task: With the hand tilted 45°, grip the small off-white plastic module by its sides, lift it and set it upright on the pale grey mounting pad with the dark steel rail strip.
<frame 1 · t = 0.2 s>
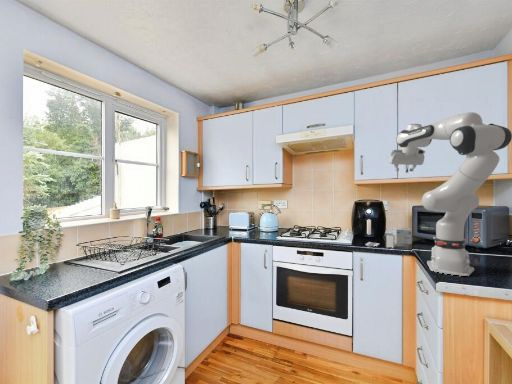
hand: (403, 171, 161), 51 cm above the worktop, tool tilted 20°, fingers open, 8 cm apart
light bulb box: (402, 243, 176), on the worktop
mounting pad: (372, 244, 173), on the worktop
grey module: (390, 247, 166), on the worktop
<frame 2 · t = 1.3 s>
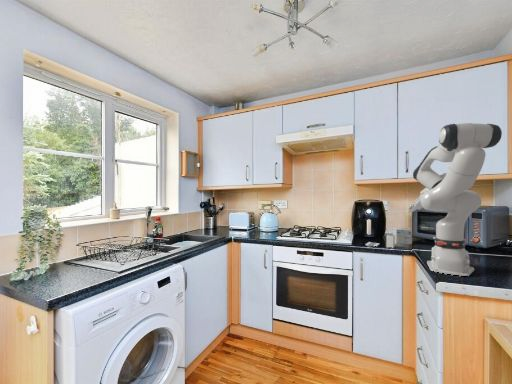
hand: (409, 210, 158), 25 cm above the worktop, tool tilted 45°, fingers open, 8 cm apart
nothing on the worktop moved.
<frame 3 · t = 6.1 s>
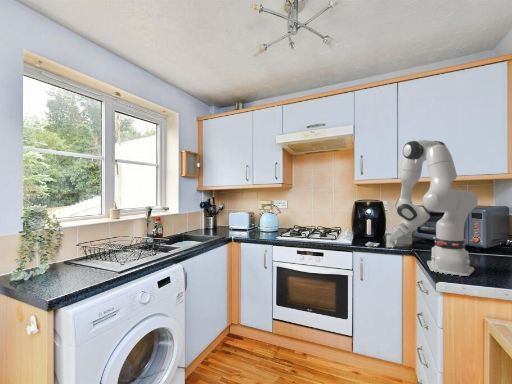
hand: (389, 240, 166), 5 cm above the worktop, tool tilted 45°, fingers closed on grey module, 4 cm apart
grey module: (390, 247, 166), on the worktop, touching gripper
everything else where it was.
when the fingers open (7 cm above the worktop, at t = 12.0 s): grey module drops 1 cm, resting on mounting pad.
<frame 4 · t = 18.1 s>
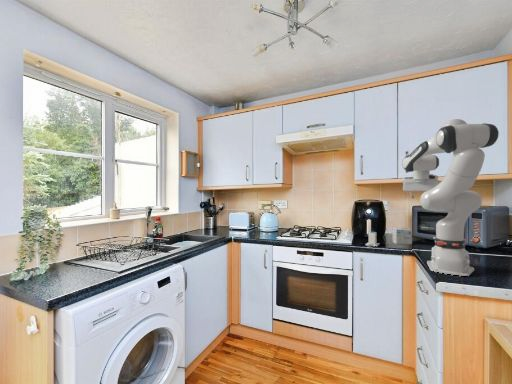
hand: (421, 198, 157), 33 cm above the worktop, tool pointing down, fingers open, 8 cm apart
grey module: (372, 243, 173), point 1 cm above the worktop, touching mounting pad
everything else where it was.
at the end: grey module 0.1 cm off-centre on the mounting pad, point 0.6 cm above the mounting pad's base; grey module tilted 0°; the gripper is holding nothing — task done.
